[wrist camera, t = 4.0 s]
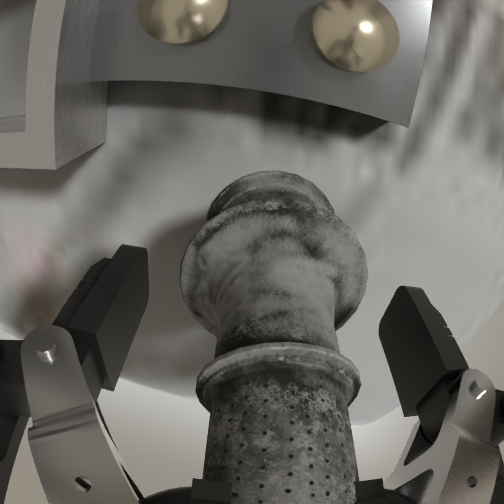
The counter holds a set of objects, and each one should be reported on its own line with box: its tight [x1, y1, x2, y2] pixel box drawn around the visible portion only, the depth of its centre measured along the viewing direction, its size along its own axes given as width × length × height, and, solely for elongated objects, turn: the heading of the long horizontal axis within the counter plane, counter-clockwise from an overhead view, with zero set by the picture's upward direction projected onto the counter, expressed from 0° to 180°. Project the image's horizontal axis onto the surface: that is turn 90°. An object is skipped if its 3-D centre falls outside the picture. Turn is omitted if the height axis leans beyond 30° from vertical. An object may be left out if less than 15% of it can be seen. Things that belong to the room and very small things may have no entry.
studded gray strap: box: [0, 0, 432, 170], centre depth 6 cm, size 30×10×4 cm, turn 81°
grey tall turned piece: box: [180, 171, 368, 504], centre depth 7 cm, size 6×6×12 cm
